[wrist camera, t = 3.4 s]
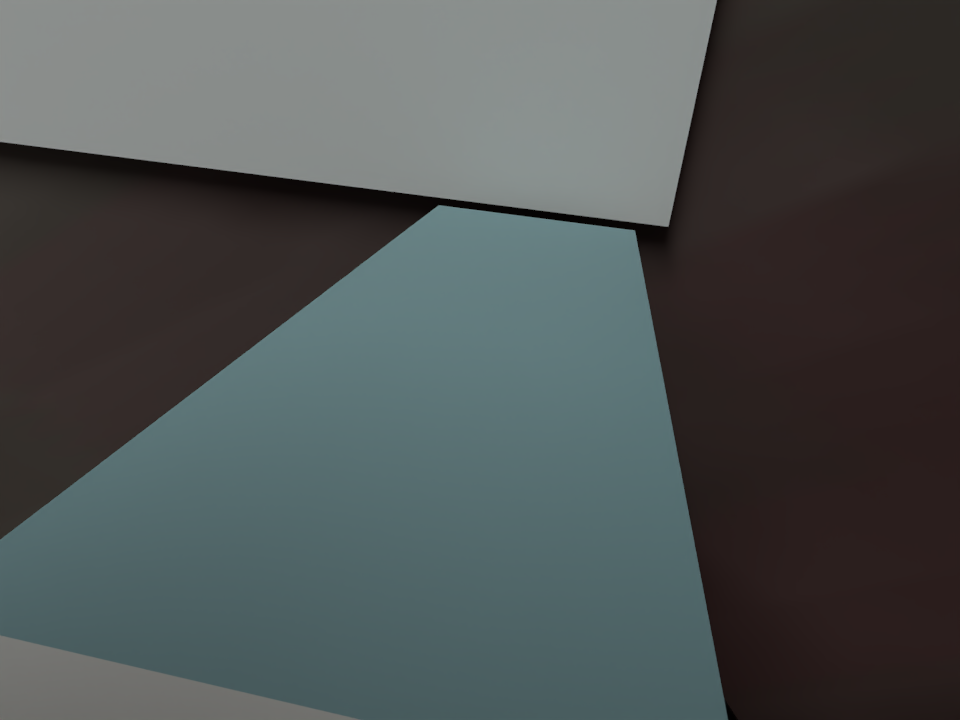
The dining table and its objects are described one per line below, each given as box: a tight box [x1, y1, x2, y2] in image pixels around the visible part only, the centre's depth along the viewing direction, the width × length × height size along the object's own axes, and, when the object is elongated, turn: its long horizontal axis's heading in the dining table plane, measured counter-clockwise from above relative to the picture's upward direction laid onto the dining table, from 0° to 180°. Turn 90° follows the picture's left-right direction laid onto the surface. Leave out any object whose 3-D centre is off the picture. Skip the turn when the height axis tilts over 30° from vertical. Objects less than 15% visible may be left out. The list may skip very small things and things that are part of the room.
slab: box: [0, 205, 728, 720], centre depth 7 cm, size 3×8×9 cm, turn 174°
